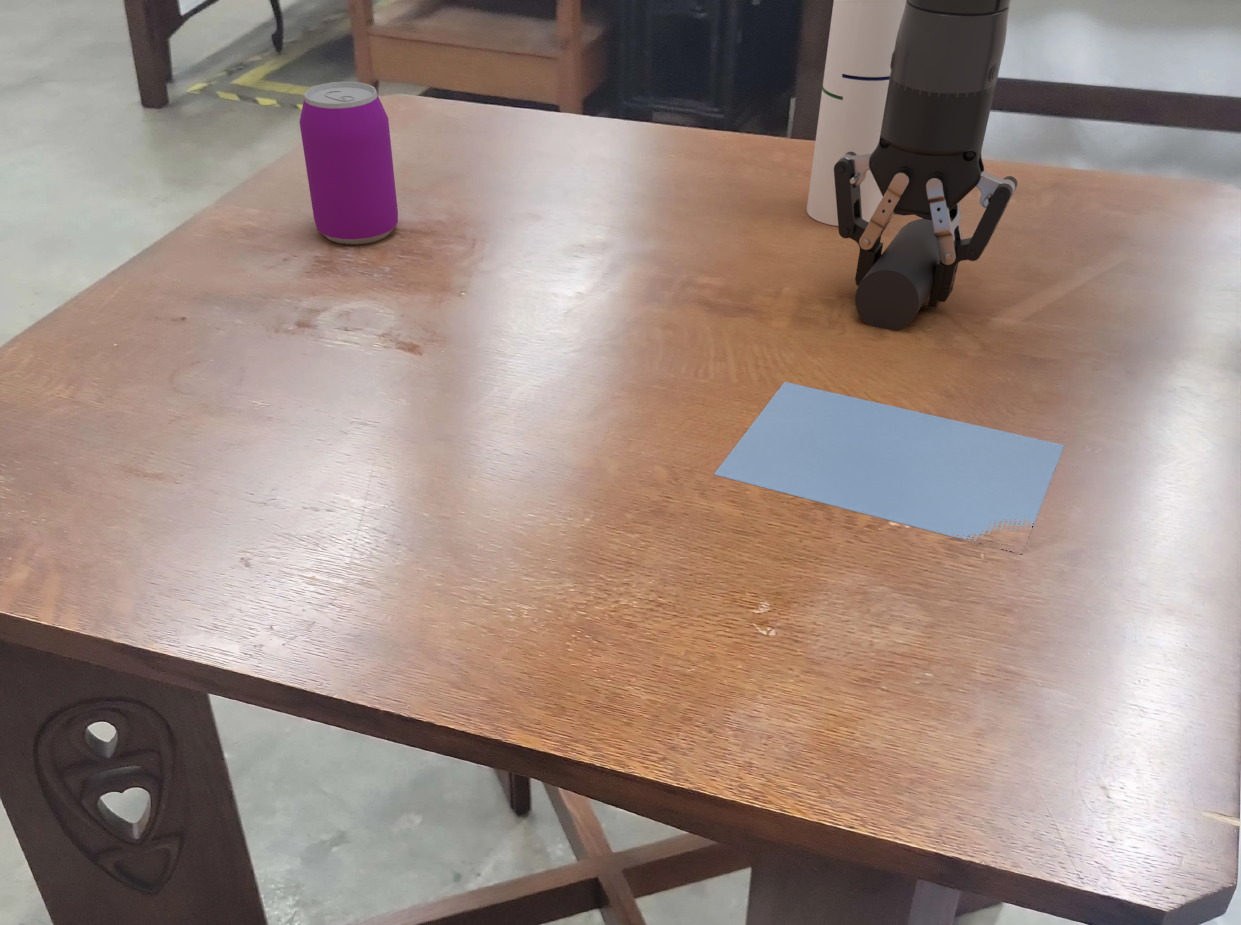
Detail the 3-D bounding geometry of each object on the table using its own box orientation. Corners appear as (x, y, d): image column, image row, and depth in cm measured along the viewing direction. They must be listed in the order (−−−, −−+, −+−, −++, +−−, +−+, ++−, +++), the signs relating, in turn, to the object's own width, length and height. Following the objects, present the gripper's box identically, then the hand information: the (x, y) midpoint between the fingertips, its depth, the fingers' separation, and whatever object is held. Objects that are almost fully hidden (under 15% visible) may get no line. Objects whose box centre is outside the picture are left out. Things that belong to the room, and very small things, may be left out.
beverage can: (416, 231, 109) (403, 92, 101) (347, 255, 106) (328, 112, 98) (367, 208, 114) (351, 73, 106) (300, 230, 110) (277, 92, 102)
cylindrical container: (867, 232, 108) (920, -89, 91) (794, 217, 111) (833, -97, 94) (894, 206, 113) (949, -104, 96) (824, 192, 116) (865, -112, 99)
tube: (894, 278, 102) (892, 220, 99) (954, 277, 100) (953, 217, 97) (856, 331, 95) (853, 270, 92) (919, 331, 92) (917, 268, 90)
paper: (1063, 447, 81) (1064, 444, 81) (1021, 557, 72) (1022, 554, 71) (784, 384, 88) (784, 381, 87) (713, 476, 78) (713, 474, 78)
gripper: (1055, 71, 86) (999, 296, 97) (862, 47, 91) (830, 264, 102) (1035, 101, 81) (978, 334, 92) (832, 73, 86) (801, 298, 97)
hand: (900, 296), depth 97 cm, fingers closed on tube, 5 cm apart
